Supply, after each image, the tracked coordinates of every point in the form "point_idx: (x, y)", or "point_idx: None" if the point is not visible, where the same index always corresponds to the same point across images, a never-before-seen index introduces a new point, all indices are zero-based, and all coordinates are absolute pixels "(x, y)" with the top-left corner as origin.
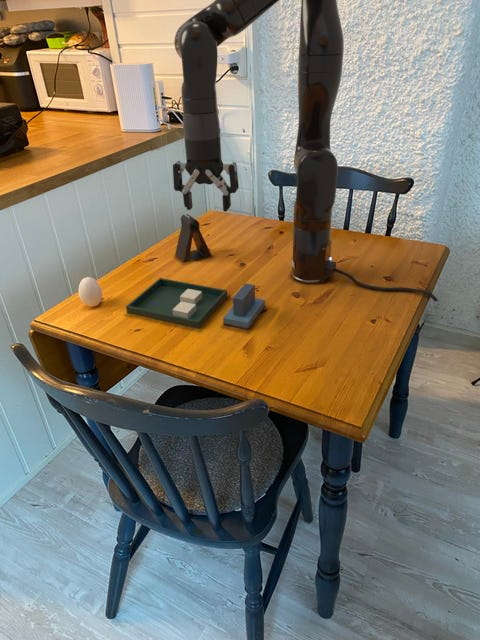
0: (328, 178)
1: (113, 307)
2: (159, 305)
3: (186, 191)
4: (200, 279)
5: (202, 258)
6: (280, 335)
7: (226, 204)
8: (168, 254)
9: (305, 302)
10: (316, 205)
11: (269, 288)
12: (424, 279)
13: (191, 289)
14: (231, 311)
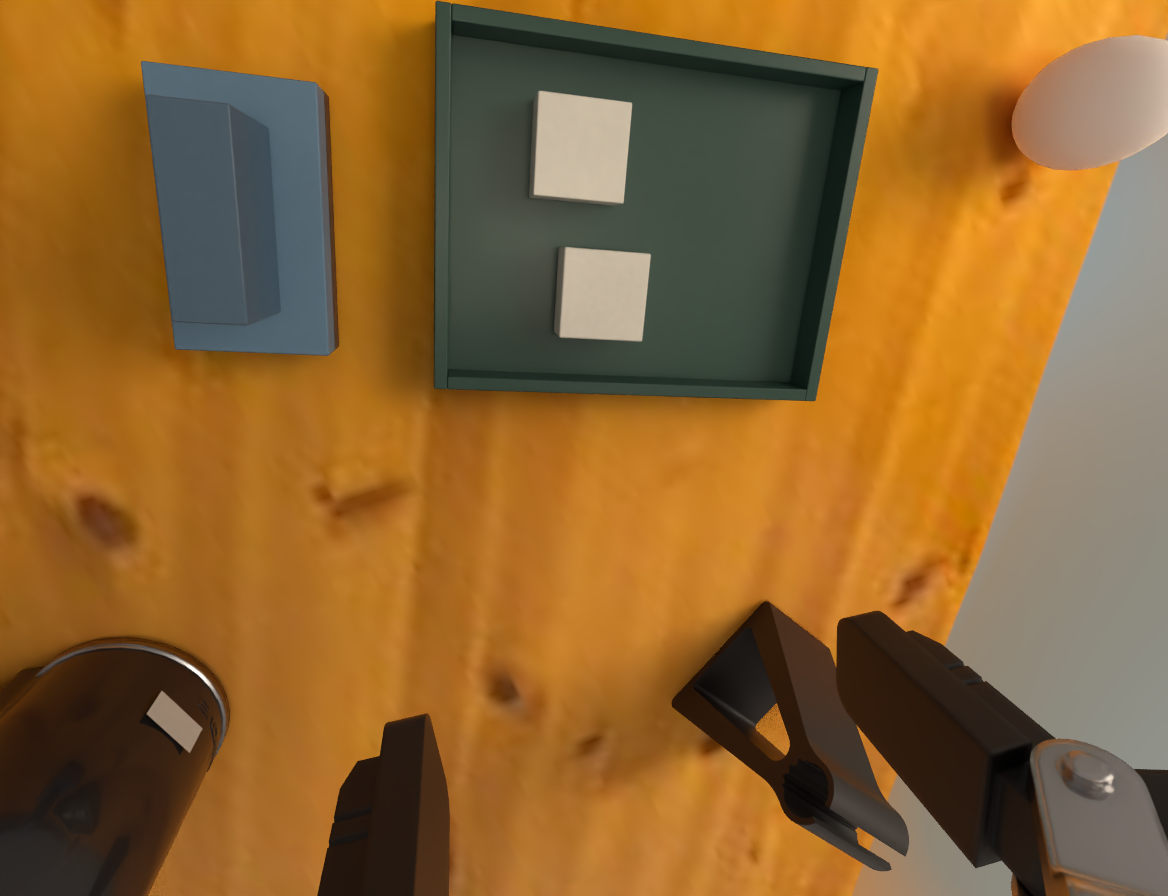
0: None
1: (934, 131)
2: (729, 195)
3: (1057, 785)
4: (639, 502)
5: (702, 671)
6: None
7: (379, 808)
8: None
9: (17, 468)
10: None
11: (274, 535)
12: None
13: (620, 338)
14: (300, 165)
